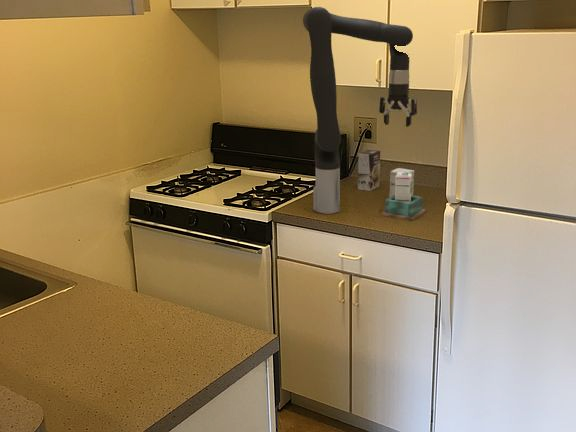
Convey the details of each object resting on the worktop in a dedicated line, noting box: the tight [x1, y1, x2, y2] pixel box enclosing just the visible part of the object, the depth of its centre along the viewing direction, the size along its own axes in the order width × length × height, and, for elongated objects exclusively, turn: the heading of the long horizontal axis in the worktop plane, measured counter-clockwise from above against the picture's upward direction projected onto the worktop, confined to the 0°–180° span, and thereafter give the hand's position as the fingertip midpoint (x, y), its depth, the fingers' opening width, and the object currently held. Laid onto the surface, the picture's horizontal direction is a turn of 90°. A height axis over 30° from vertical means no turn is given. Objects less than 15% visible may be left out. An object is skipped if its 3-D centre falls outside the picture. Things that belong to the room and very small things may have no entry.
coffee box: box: [357, 149, 381, 192], centre depth 276 cm, size 9×6×16 cm
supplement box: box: [388, 167, 415, 198], centre depth 258 cm, size 7×7×13 cm
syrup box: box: [395, 172, 412, 203], centre depth 240 cm, size 6×6×14 cm
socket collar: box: [380, 195, 427, 222], centre depth 242 cm, size 13×13×6 cm
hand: (397, 125), depth 242 cm, fingers open, 8 cm apart
